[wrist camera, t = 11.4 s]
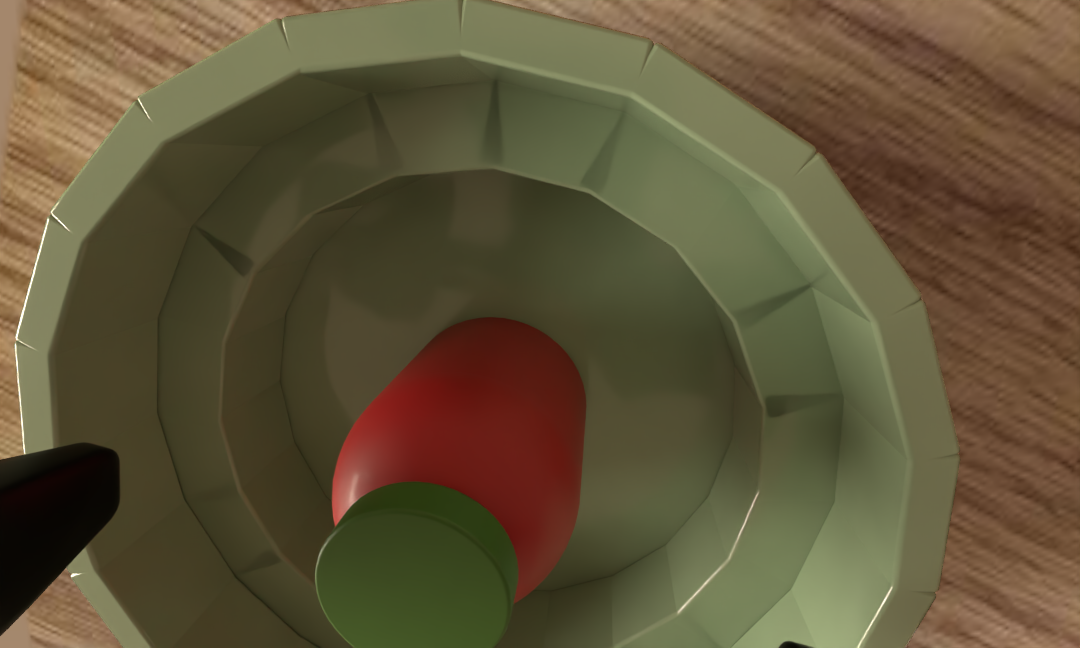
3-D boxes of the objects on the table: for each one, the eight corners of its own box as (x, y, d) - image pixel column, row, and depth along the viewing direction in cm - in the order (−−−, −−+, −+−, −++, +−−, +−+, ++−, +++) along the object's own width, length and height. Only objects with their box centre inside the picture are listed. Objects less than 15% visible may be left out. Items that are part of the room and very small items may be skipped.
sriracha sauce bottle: (397, 454, 12) (247, 669, 7) (425, 295, 11) (268, 414, 6) (561, 499, 12) (530, 752, 7) (608, 343, 11) (612, 508, 6)
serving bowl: (212, 547, 14) (43, 715, 10) (239, -5, 10) (-31, -127, 6) (697, 685, 14) (739, 925, 9) (933, 164, 10) (1202, 168, 5)
